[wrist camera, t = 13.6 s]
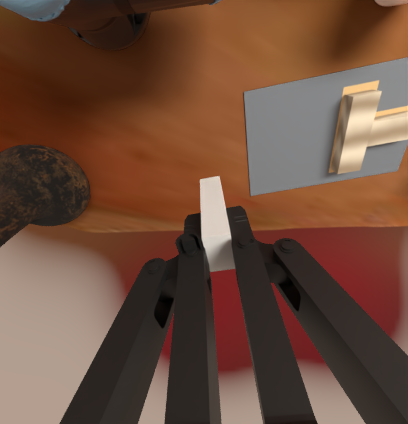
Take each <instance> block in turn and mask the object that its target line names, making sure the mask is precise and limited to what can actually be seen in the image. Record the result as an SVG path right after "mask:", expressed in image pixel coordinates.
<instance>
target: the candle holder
mask: <svg viewBox="0 0 408 424" xmlns="http://www.w3.org/2000/svg"><path fill="white" fill-rule="evenodd" d="M374 1H375V2H376V3H377V4H379V5H381V6H396V5H402V4H408V0H374Z"/></svg>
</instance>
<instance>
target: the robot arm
mask: <svg viewBox="0 0 408 424" xmlns="http://www.w3.org/2000/svg"><path fill="white" fill-rule="evenodd" d="M220 1H221V0H0V5H1V6H3V7H4V8H7V9H9V10H11V11H14V12H16V13H17V14H20V15H22V16H23V17H25V18H28V19H30V20H33V21H34V20H38V21H40V22H44V21H46V22H50V23H54V24H58V25H62V26H66V27H68V28H69V29H70V30H71V31H72V32H73V33H74V34H75V35H76V36H78V37H79V38H80V39H82V40H83V41H85V42H86V43H88V44H90V45H92V46H94V47H97V48H101V49H106V50H121V49H125V48H127V47H129V46H131V45H132V44H134V43H135V42H136V41H137V40H138V39H139V38H140V37H141V35H142V34H143V32H144V31H145V29H146V26H147V24H148V21H149V17H150V12H153V11H160V10H167V9H174V8H181V7H189V6H196V5H203V4H209V5H213V4H217V3H218V2H220ZM200 198H201V213H197V214H191V215H188V216H187V218H186V219H185V224H184V226H185V227H184V234H182V235H180V236H179V237H178V238H177V240H176V242H175V243H176V246H177V249H178V252H179V255H177V256H176V257H174V258H172V259H170V260H168V261H164V260H163V259H160V258H155V259H152V260H149V261H148V262H147V263H145V265H144V266H143V267H142V269H141V271H140V273H139V275H138V277H137V278H136V281H135V282H134V284H133V286H132V288H131V290H130V292H129V294H128V296H127V297H126V299H125V301H124V303H123V305H122V307H121V309H120V311H119V312H118V314H117V316H116V318H115V320H114V322H113V324H112V326H111V328H110V329H109V331H108V333H107V335H106V337H105V339H104V341H103V343H102V345H101V347H100V348H99V350H98V352H97V354H96V356H95V358H94V360H93V361H92V364H91V365H90V367H89V369H88V371H87V373H86V375H85V377H84V379H83V381H82V382H81V384H80V386H79V388H78V390H77V392H76V394H75V395H74V397H73V399H72V401H71V403H70V405H69V407H68V409H67V411H66V412H65V414H64V416H63V418H62V420H61V422H60V424H138V421H139V418H140V415H141V412H142V409H143V406H144V403H145V399H146V397H147V393H148V390H149V387H150V384H151V381H152V378H153V375H154V372H155V368H156V366H157V362H158V359H159V356H160V353H161V350H162V347H163V344H164V341H165V338H166V335H167V332H168V329H169V325H170V322H171V319H172V316H173V313H174V320H173V332H172V343H171V355H170V366H169V377H168V389H167V401H166V412H165V424H221V412H220V397H219V383H218V368H217V355H216V340H215V325H214V312H213V298H212V283H211V277H210V272H213V271H220V270H228V269H236V275H237V282H238V287H239V292H240V298H241V303H242V309H243V314H244V320H245V326H246V331H247V336H248V342H249V348H250V353H251V359H252V364H253V370H254V375H255V381H256V386H257V392H258V397H259V403H260V408H261V414H262V419H263V424H318V423H317V421H316V419H315V416H314V413H313V410H312V407H311V404H310V401H309V398H308V395H307V392H306V389H305V386H304V383H303V380H302V377H301V374H300V371H299V367H298V364H297V362H296V358H295V355H294V352H293V350H292V346H291V343H290V340H289V338H288V334H287V331H286V328H285V325H284V322H283V319H282V316H281V313H280V310H279V307H278V304H277V301H276V298H275V295H274V292H273V289H272V285H271V283H274V284H275V286H276V288H277V289H278V290H279V292H280V294H281V295H282V297H283V298H284V300H285V301H286V303H287V304H288V306H289V307H290V309H291V310H292V312H293V313H294V315H295V316H296V318H297V319H298V321H299V323H300V324H301V326H302V327H303V329H304V330H305V332H306V333H307V335H308V336H309V338H310V339H311V341H312V342H313V344H314V345H315V347H316V349H317V350H318V352H319V353H320V355H321V356H322V358H323V359H324V361H325V362H326V364H327V365H328V367H329V368H330V370H331V371H332V373H333V374H334V376H335V378H336V379H337V381H338V382H339V384H340V385H341V387H342V388H343V390H344V391H345V393H346V394H347V396H348V397H349V399H350V400H351V402H352V404H353V405H354V406H355V408H356V410H357V411H358V413H359V414H360V416H361V417H362V419H363V420H364V422H365V423H366V424H408V356H407V355H406V354H405V352H404V351H403V350H402V349H401V348H400V347H399V346H398V345H397V344H396V343H395V342H394V341H393V340H392V339H391V338H390V337H389V336H388V335H387V334H386V333H385V332H384V331H383V330H382V329H381V328H380V326H379V325H378V324H377V323H376V322H375V321H374V320H373V319H372V318H371V317H370V316H369V315H368V314H367V313H366V312H365V311H364V310H363V309H362V308H361V307H360V306H359V305H358V304H357V303H356V302H355V300H354V299H353V298H352V297H351V296H349V294H348V293H347V292H346V291H344V289H343V288H342V287H341V286H340V285H339V284H338V283H337V282H336V281H335V280H334V279H333V278H332V277H331V276H330V275H329V273H328V272H327V271H326V270H325V269H324V268H323V267H322V266H321V265H320V264H319V263H318V262H317V261H316V260H315V259H314V258H313V257H312V256H311V255H310V254H309V253H308V252H307V251H306V250H305V249H304V247H303V246H301V244H300V243H298V242H297V241H295V240H293V239H289V238H283V239H279V240H277V241H276V242H275V243H274V245H272V244H264V243H261V242H259V241H257V240H256V239H255V238H254V236H253V233H252V230H251V227H250V224H249V221H248V218H247V215H246V212H245V209H243V208H242V207H241V206H236V207H230V208H226V207H225V202H224V197H223V192H222V187H221V182H220V177H219V176H216V177H211V178H205V179H200Z"/></svg>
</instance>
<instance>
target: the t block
mask: <svg viewBox="0 0 408 424" xmlns="http://www.w3.org/2000/svg"><path fill="white" fill-rule="evenodd" d="M381 93H382V91H378V90H372V89H370V90H365V91H360V92H355V93H350V94H345V95H344V100H343V105H342V110H341V116H340V121H339V127H338V132H337V138H336V143H335V148H334V154H333V159H332V165H331V169H332V170H333V171H334V172H335V173H337V174H341V173H347V172H353V171H359V170H360V169H361V166H362V162H363V158H364V155H365V151H366V147H368V146H374V145H379V144H385V143H390V142H396V141H402V140H407V139H408V111H403V112H397V113H392V114H387V115H382V116H376V117H375V114H376V111H377V107H378V103H379V100H380V96H381Z"/></svg>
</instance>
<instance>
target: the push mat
mask: <svg viewBox="0 0 408 424" xmlns="http://www.w3.org/2000/svg"><path fill="white" fill-rule="evenodd" d="M370 89H372V90H378V91H382V93H381V96H380V100H379V103H378V107H377V111H376V114H375V117H376V116H382V115H387V114H392V113H397V112H403V111H408V57H407V58H402V59H397V60H393V61H388V62H383V63H378V64H374V65H369V66H364V67H359V68H355V69H350V70H345V71H341V72H336V73H331V74H326V75H322V76H317V77H312V78H307V79H303V80H298V81H293V82H289V83H284V84H279V85H274V86H270V87H265V88H260V89H255V90H251V91H246V92H244V103H245V119H246V134H247V150H248V165H249V181H250V196H253V195H259V194H265V193H271V192H276V191H282V190H288V189H294V188H300V187H306V186H312V185H318V184H324V183H329V182H335V181H341V180H347V179H353V178H359V177H365V176H371V175H377V174H382V173H388V172H394V171H398V168H399V165H400V163H401V160H402V158H403V155H404V152H405V150H406V147H407V145H408V139H407V140H402V141H396V142H390V143H385V144H379V145H374V146H368V147H366V151H365V155H364V158H363V162H362V166H361V169H360V170H359V171H353V172H347V173H341V174H337V173H335V172H334V171H333V170H332V169H331V165H332V159H333V154H334V148H335V143H336V138H337V132H338V127H339V121H340V116H341V110H342V105H343V100H344V95H345V94H350V93H355V92H360V91H365V90H370Z"/></svg>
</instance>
